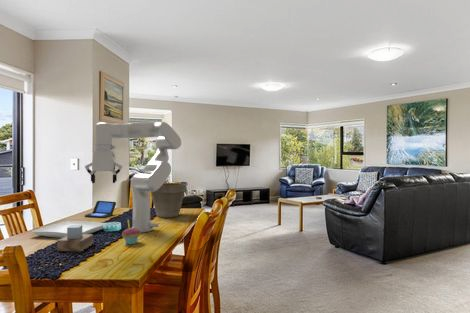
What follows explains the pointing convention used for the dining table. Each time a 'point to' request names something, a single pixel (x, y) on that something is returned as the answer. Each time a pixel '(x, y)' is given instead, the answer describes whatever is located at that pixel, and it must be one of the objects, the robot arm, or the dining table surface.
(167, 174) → the robot arm
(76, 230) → the slate block
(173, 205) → the plant pot
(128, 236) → the cupcake
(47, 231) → the square plate
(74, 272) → the dining table surface
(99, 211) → the handheld game console
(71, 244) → the walnut base
